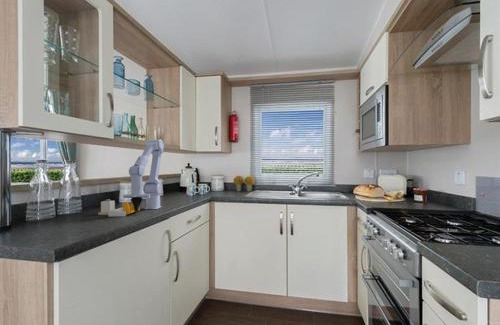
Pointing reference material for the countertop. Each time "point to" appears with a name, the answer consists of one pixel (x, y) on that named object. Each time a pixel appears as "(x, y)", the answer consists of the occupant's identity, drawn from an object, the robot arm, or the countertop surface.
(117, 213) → the parts bay
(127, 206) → the pipe clamp
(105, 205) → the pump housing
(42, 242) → the countertop surface
